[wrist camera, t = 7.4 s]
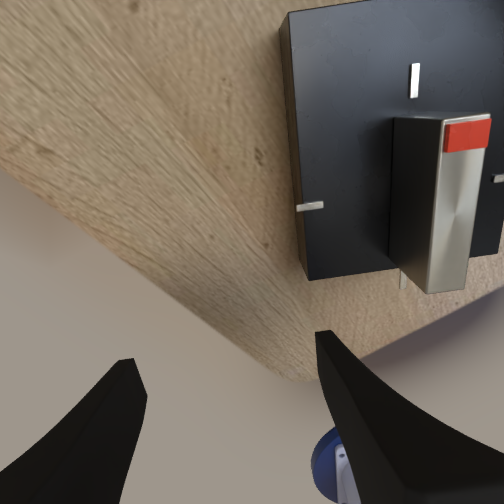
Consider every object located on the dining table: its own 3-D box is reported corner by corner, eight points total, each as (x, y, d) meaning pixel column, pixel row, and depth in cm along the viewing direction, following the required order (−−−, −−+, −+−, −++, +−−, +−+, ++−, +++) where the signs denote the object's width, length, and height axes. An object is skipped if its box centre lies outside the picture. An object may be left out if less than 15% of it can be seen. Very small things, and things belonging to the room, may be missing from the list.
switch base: (467, 253, 22) (502, 274, 19) (295, 278, 22) (304, 303, 19) (503, -7, 16) (561, -32, 13) (271, 29, 16) (279, 12, 14)
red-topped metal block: (419, 254, 18) (468, 292, 15) (387, 258, 18) (428, 298, 15) (431, 111, 15) (497, 111, 12) (393, 116, 15) (446, 118, 12)
